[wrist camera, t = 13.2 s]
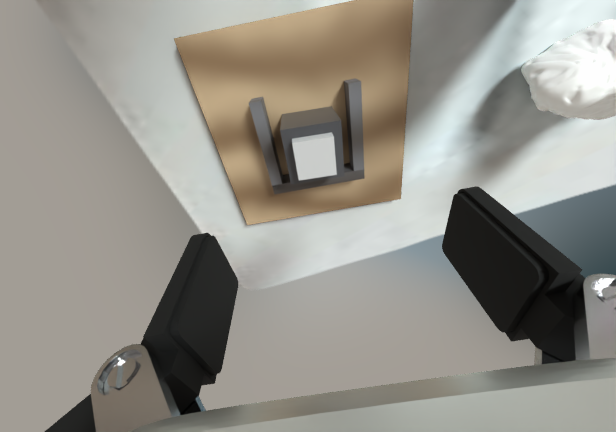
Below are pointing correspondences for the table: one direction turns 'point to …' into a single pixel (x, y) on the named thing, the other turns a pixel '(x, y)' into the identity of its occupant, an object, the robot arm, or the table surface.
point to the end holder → (307, 101)
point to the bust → (577, 74)
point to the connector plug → (313, 144)
